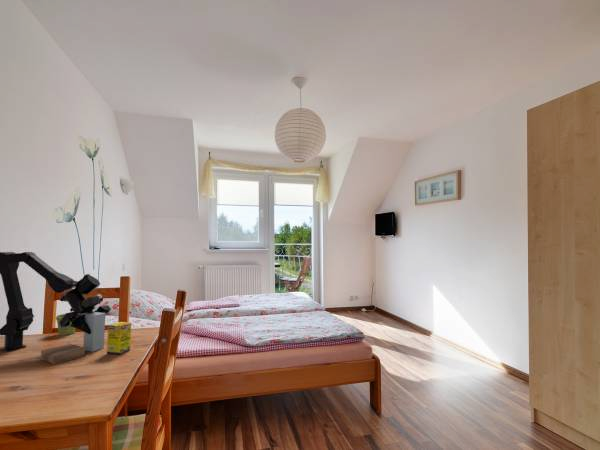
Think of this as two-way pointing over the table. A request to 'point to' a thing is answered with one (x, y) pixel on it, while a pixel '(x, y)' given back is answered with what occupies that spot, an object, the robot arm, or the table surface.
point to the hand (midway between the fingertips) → (96, 331)
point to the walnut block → (62, 353)
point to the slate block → (94, 331)
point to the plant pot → (64, 330)
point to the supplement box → (119, 338)
